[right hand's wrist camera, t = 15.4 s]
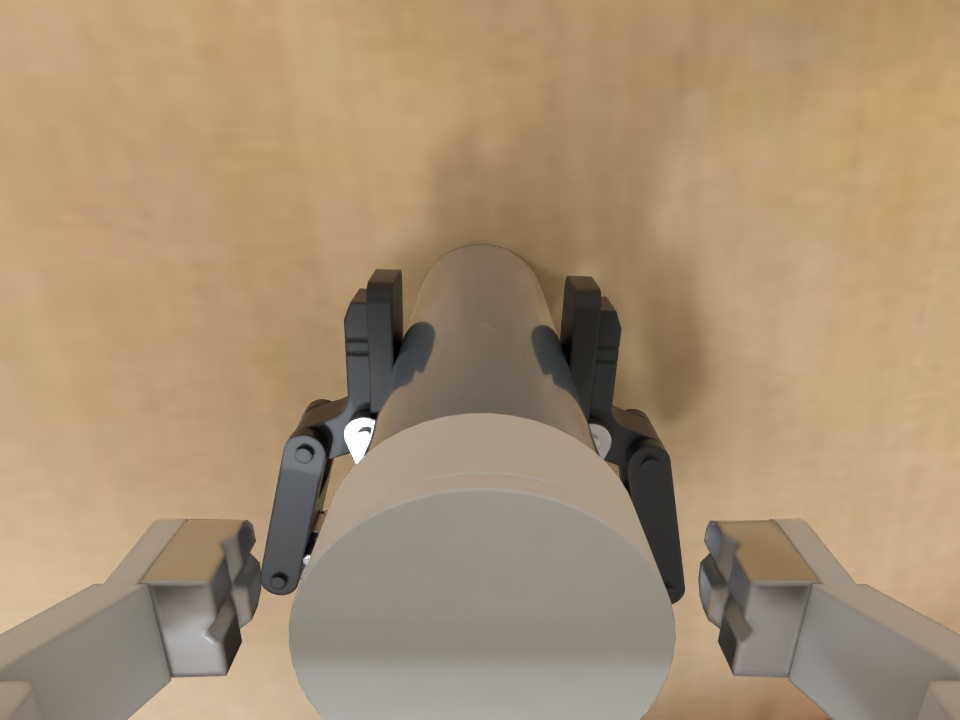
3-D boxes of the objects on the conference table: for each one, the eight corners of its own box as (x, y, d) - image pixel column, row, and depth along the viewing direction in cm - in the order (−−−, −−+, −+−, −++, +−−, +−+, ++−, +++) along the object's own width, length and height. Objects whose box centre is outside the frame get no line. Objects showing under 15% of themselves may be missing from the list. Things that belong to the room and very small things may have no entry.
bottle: (454, 383, 25) (418, 768, 10) (395, 279, 24) (251, 560, 9) (563, 332, 24) (693, 671, 10) (509, 221, 23) (564, 421, 8)
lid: (617, 674, 12) (646, 789, 10) (330, 664, 12) (300, 778, 10) (662, 418, 10) (709, 496, 8) (316, 404, 10) (272, 480, 8)
